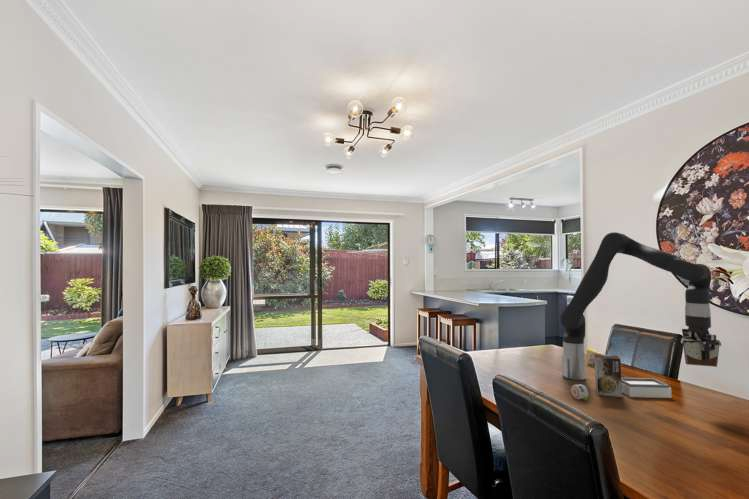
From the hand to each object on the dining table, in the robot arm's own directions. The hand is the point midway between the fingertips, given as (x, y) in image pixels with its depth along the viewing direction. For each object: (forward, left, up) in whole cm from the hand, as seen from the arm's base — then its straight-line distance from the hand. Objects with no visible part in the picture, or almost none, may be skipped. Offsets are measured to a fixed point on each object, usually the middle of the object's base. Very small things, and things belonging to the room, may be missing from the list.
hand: (699, 358), depth 142 cm
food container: (0, +1, -2) cm, 3 cm away
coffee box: (-27, +14, -19) cm, 36 cm away
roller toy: (-42, +7, -19) cm, 47 cm away
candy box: (-10, +56, -19) cm, 60 cm away
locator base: (-12, +16, -19) cm, 28 cm away
